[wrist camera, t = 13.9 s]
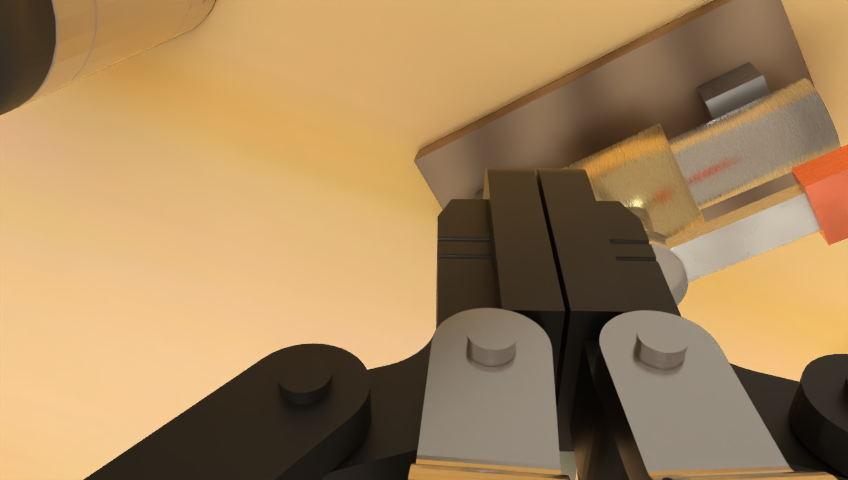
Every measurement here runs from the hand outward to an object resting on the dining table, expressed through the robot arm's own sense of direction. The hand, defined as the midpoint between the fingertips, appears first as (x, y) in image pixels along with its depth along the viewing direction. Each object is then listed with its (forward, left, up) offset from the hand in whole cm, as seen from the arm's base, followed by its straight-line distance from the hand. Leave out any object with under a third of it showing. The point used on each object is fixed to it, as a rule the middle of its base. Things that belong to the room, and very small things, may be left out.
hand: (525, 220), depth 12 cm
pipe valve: (+5, -11, -33) cm, 35 cm away
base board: (+5, -11, -35) cm, 37 cm away
